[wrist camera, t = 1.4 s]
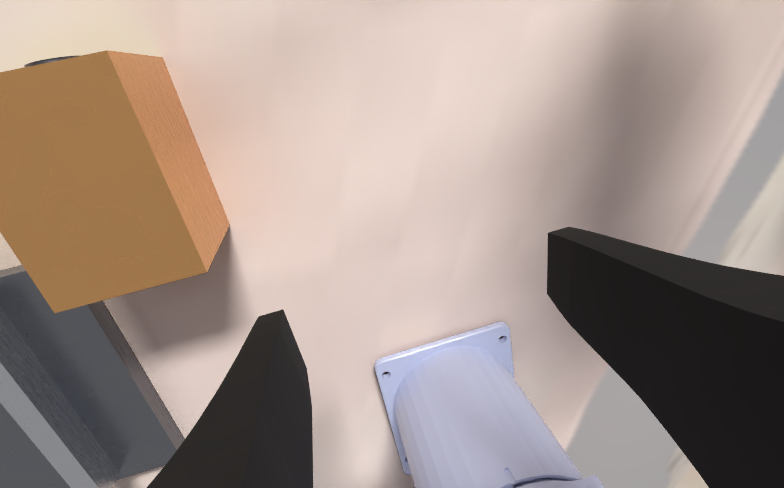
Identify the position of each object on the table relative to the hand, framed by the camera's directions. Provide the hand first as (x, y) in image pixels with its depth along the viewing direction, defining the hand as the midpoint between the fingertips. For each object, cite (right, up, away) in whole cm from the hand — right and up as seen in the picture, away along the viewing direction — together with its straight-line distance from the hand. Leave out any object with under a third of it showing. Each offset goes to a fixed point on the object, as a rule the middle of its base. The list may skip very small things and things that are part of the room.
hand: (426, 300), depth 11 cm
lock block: (-11, +5, +6) cm, 14 cm away
